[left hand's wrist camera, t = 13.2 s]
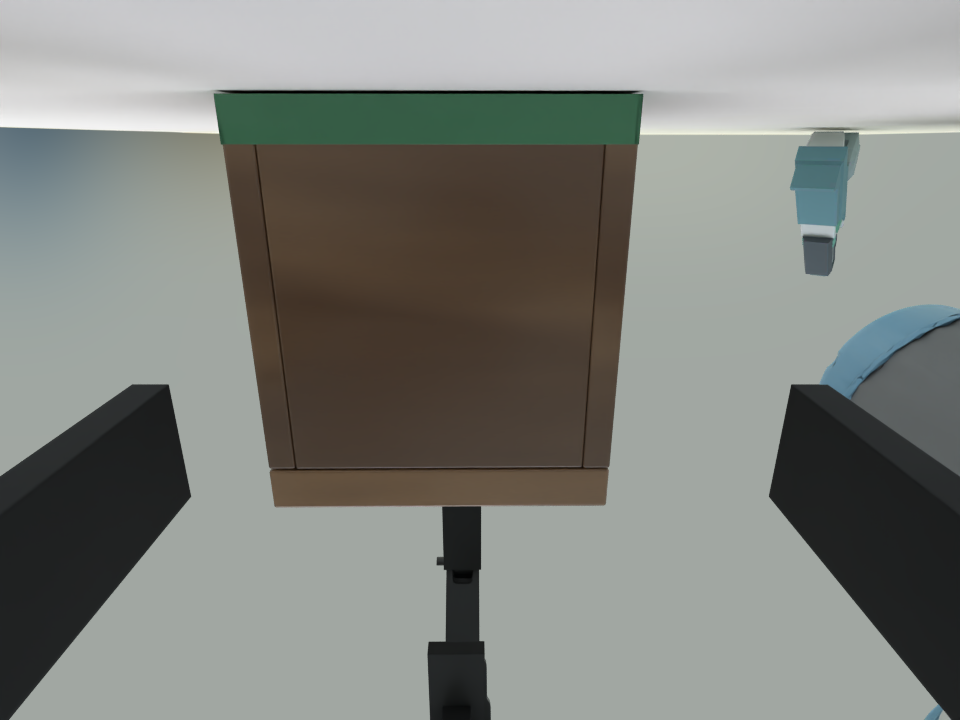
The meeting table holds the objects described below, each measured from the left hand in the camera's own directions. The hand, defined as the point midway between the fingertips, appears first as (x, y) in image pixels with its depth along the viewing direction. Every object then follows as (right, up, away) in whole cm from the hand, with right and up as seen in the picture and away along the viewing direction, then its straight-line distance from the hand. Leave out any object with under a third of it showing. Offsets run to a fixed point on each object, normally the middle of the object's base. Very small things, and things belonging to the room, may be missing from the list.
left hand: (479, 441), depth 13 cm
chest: (-1, +11, +8) cm, 13 cm away
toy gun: (+31, +22, +38) cm, 54 cm away
